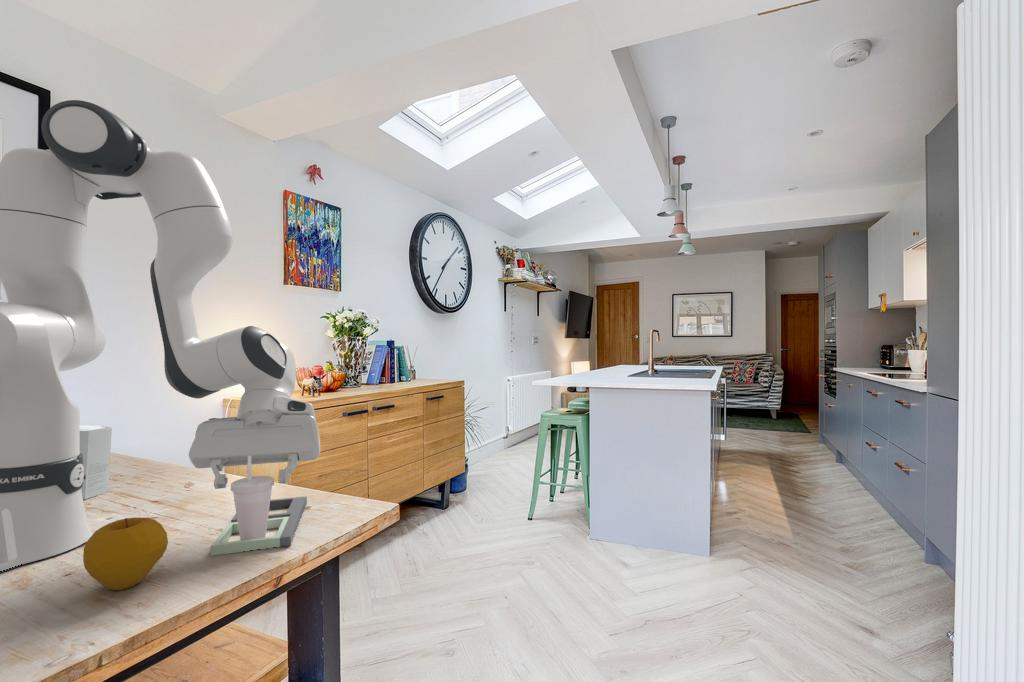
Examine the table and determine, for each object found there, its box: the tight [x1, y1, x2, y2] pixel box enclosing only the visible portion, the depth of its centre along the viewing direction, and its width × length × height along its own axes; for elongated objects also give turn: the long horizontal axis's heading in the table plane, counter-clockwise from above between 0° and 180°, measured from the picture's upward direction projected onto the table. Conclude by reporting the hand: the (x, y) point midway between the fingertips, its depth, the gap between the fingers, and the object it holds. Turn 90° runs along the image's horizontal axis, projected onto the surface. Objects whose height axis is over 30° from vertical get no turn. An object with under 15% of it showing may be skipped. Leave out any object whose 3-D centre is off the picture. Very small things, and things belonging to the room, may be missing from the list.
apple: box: [82, 517, 169, 591], centre depth 63 cm, size 9×9×9 cm
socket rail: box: [210, 496, 308, 557], centre depth 83 cm, size 11×21×2 cm, turn 17°
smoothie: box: [230, 455, 275, 541], centre depth 78 cm, size 6×6×14 cm
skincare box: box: [80, 425, 113, 501], centre depth 101 cm, size 8×6×15 cm
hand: (252, 484), depth 77 cm, fingers open, 8 cm apart
